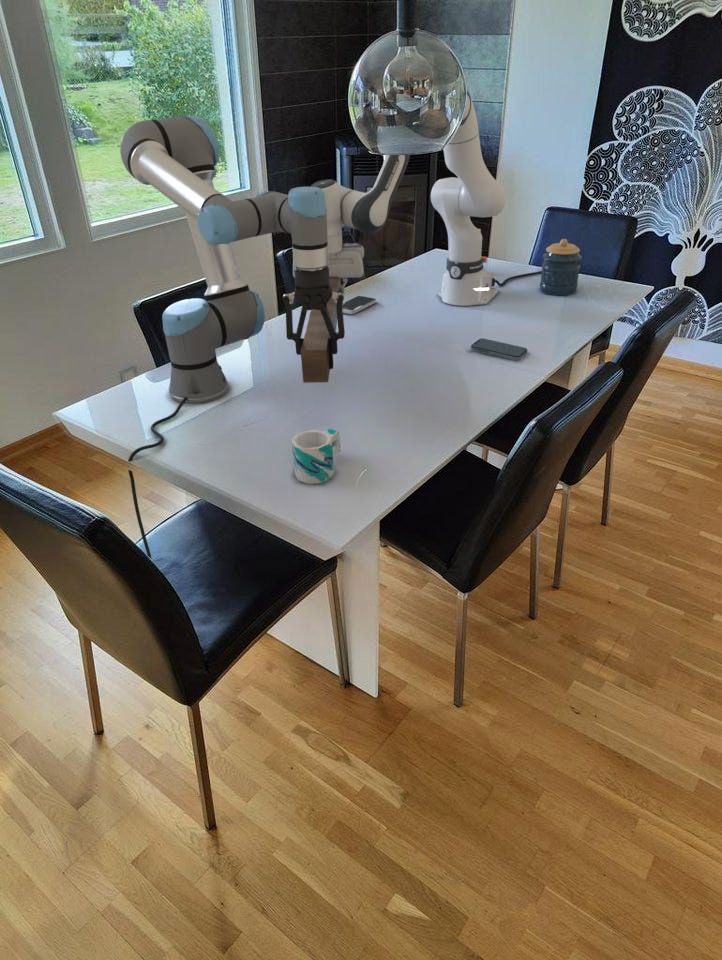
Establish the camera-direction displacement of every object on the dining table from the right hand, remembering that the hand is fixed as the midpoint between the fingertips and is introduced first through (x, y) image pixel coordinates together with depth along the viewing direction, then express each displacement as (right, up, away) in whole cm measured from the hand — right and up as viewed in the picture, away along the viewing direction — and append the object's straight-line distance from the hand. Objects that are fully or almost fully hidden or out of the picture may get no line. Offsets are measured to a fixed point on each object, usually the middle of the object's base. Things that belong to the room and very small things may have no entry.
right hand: (329, 292), depth 195 cm
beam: (0, -15, -18) cm, 24 cm away
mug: (0, -52, -52) cm, 74 cm away
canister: (+79, +13, +44) cm, 91 cm away
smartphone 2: (+49, -18, -2) cm, 52 cm away
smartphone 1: (+7, +5, +36) cm, 37 cm away
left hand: (-1, -28, -39) cm, 48 cm away
